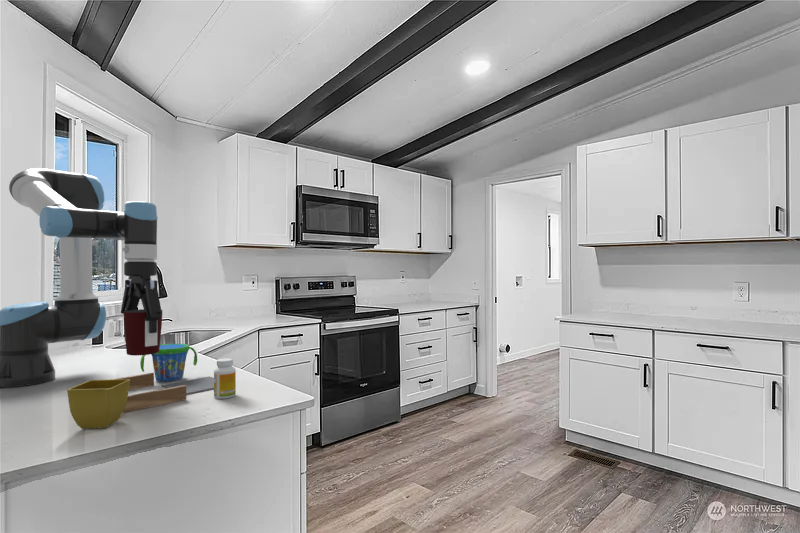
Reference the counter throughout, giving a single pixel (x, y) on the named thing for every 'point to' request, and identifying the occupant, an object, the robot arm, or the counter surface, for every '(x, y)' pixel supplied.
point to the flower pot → (98, 402)
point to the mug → (139, 333)
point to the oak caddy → (151, 393)
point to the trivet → (194, 385)
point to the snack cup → (170, 361)
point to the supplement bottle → (224, 379)
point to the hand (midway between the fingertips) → (140, 343)
